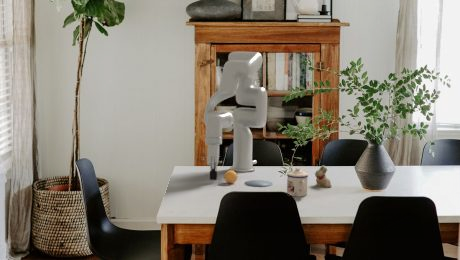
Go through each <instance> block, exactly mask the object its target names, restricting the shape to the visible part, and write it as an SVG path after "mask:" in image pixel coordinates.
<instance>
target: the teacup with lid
mask: <svg viewBox="0 0 460 260" xmlns="http://www.w3.org/2000/svg"><path fill="white" fill-rule="evenodd" d="M286 177H287V181H286V183H287V184H286V190H287V191H286V194H287V193H289V194H291V195H292V196H291V197H305V196H307V194H308V179H309V178H308V177H309V174H308V173H307V172H305V171H304V170H301V168H300V167H296V168H295V169H293V170H291V171H288V172H287V174H286Z"/></svg>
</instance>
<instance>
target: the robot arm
mask: <svg viewBox="0 0 460 260" xmlns="http://www.w3.org/2000/svg"><path fill="white" fill-rule="evenodd" d="M227 58H228V59H227V61H226V62H225V64H224V63H223V64H224V65H223V68H222V73H221V78H220V82H219V86H218V89H217V90H216V92H214V93H213V94H212V95H211V96H210V97H209V99H208V100H207V102H206V104H205V108H204V112H203V118H202V120H203V123H204V125H205V144H206V145H207V151H206V152H207V153H206V159H207V160H206V163H207V164H206V165H207V166H210V168H209V169H210V170H209V181H216V180H217V179H218V171H217V169H218V168H217V167H218V165H219V159H220V145H222V144H223V129H229V128H231V127H232V126H233V157H232V158H233V160H232V161H233V162H232V165H231V166H230V168H229V169H230V170H232V171H234V172H242V173H247V172H254V171H255V170H256V168H255V167H256V166H253V165H256V164H257V163H258V162H257V160H256V159H254V160H253V133H252V131H251V129H250V128H258V129H262V128H265V126H266V123H267V120H268V92H267V90H266V88H264V87H262V86H254V76H255V75H256V73H258V72H259V70H260V69H261V68H262V65H263V61H264V59H263V55H262V54H261V53H260V52H257V51H256V52H255V51H232V52H230V53H229V54H228V57H227ZM234 96H235V101H236V103H237V104H238V105H241V106H254V107H255V108H253V107H252V108H251V107H237V108H235V109H233V111H232V113H230V112H228V111H218V110H215V108H216V107H217V105H219V104H220V103H221V102H223V101H224V100H227V99H229V98H232V97H234Z"/></svg>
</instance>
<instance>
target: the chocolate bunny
mask: <svg viewBox="0 0 460 260" xmlns="http://www.w3.org/2000/svg"><path fill="white" fill-rule="evenodd" d="M327 171H328V168H327V167H326V166H325V165H321V167H320V168H318V169H317V170H316V171H315V172H314V175H315V178H316V179H315V182H316V186H317V187H320V188H327V189H328V188H332V182H331V179H329V177H327V176H326V173H327Z"/></svg>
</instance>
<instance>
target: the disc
mask: <svg viewBox="0 0 460 260" xmlns="http://www.w3.org/2000/svg"><path fill="white" fill-rule="evenodd" d="M273 184H274V183H273V182H272V181H268V180H260V179H255V180H254V179H252V180H247V181H245V182H244V185H245V186H249V187H256V188H257V187H258V188H265V187H271V186H273Z"/></svg>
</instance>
